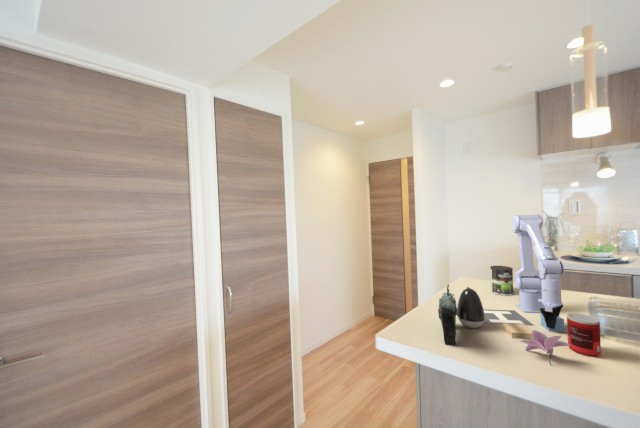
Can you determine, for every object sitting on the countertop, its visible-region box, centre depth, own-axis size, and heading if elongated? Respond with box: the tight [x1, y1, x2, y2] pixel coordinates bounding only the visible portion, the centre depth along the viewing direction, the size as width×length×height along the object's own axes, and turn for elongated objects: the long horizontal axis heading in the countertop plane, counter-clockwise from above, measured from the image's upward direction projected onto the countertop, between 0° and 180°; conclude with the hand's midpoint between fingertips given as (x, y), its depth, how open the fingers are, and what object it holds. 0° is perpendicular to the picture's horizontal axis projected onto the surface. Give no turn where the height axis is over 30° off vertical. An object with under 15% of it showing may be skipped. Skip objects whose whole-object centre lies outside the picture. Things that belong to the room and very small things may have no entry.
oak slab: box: [501, 323, 534, 340], centre depth 99 cm, size 8×8×2 cm
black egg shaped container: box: [456, 287, 485, 329], centre depth 108 cm, size 10×10×15 cm
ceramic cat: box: [437, 284, 457, 347], centre depth 101 cm, size 20×6×20 cm, turn 154°
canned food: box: [566, 312, 602, 358], centre depth 86 cm, size 8×8×11 cm
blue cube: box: [540, 313, 565, 333], centre depth 102 cm, size 5×5×5 cm
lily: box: [519, 329, 571, 367], centre depth 83 cm, size 12×12×10 cm
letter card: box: [483, 308, 536, 327], centre depth 115 cm, size 18×16×1 cm
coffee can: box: [489, 265, 514, 296], centre depth 146 cm, size 10×10×14 cm
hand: (552, 324), depth 102 cm, fingers open, 7 cm apart
